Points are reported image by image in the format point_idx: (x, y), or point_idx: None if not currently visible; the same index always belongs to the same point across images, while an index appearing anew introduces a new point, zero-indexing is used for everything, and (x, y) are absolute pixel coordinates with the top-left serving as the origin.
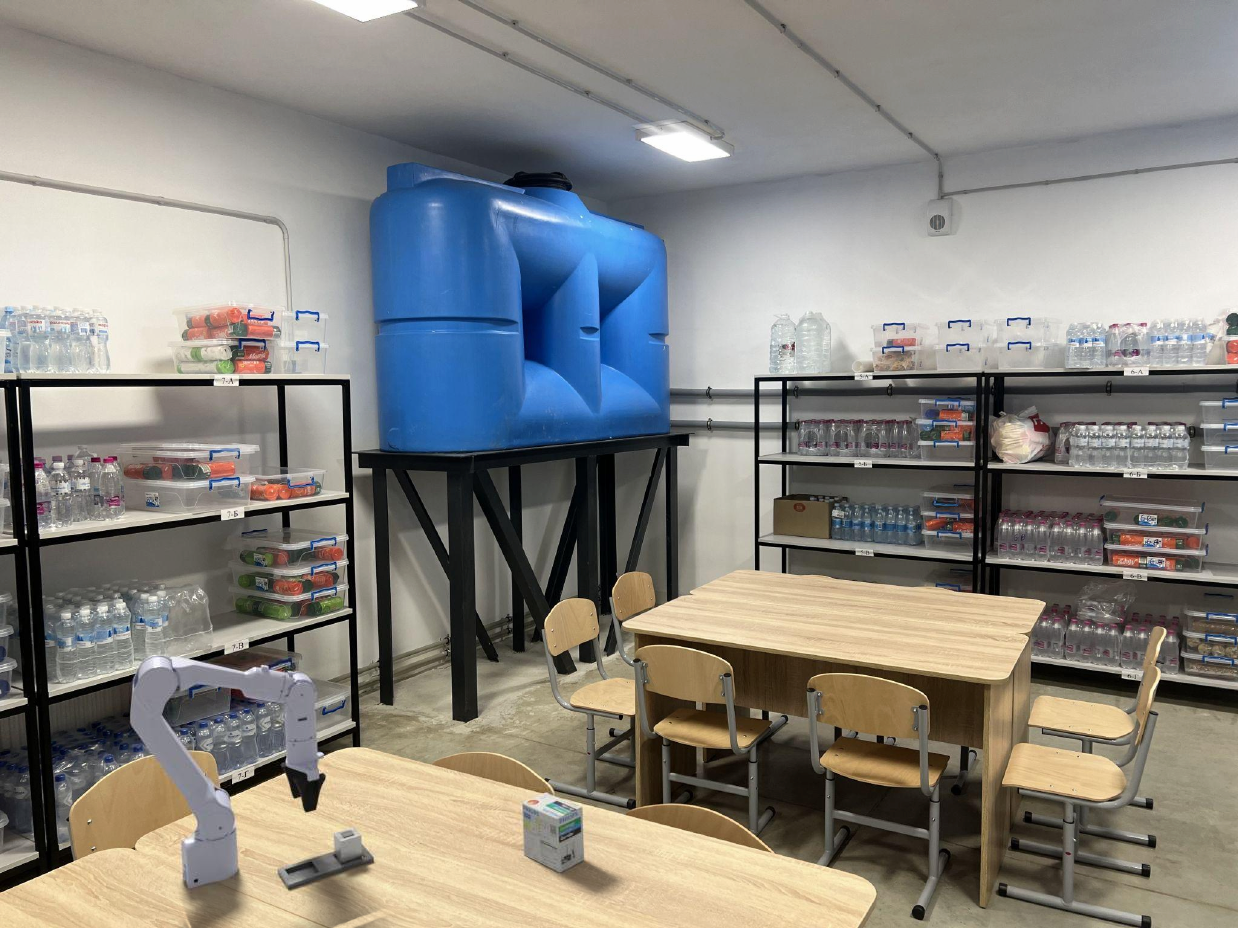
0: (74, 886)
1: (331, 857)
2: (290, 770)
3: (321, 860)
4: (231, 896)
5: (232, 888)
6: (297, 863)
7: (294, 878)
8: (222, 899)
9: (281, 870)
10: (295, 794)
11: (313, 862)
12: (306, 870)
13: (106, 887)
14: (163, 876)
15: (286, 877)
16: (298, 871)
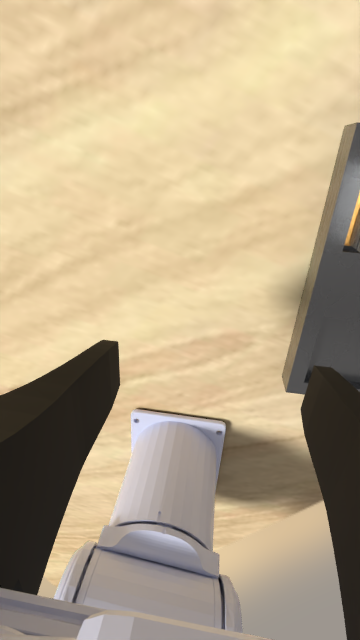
0: (65, 555)
1: (358, 262)
2: (39, 546)
3: (348, 294)
4: (276, 456)
5: (246, 445)
6: (301, 348)
7: (348, 368)
8: (273, 468)
9: (301, 388)
10: (113, 391)
11: (337, 316)
12: (336, 332)
13: (94, 539)
14: (109, 492)
15: None
16: (322, 348)
